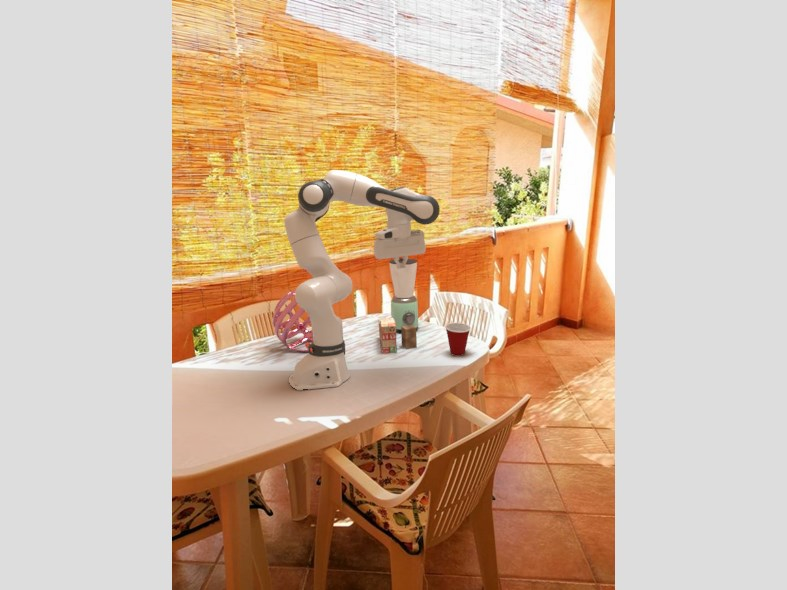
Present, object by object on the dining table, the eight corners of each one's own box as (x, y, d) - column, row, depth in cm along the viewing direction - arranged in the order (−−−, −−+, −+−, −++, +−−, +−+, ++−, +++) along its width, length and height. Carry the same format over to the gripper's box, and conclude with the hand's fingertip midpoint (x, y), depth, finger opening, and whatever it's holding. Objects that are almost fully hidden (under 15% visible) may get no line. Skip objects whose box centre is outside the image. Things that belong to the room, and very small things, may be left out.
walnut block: (406, 349, 212) (405, 329, 210) (401, 345, 216) (401, 326, 214) (416, 347, 213) (416, 327, 211) (412, 344, 218) (411, 324, 216)
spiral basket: (356, 304, 211) (312, 266, 219) (309, 336, 192) (263, 293, 200) (342, 343, 230) (302, 307, 238) (298, 375, 212) (256, 334, 219)
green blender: (424, 332, 233) (423, 260, 225) (398, 336, 229) (395, 262, 221) (409, 322, 251) (408, 254, 243) (385, 325, 247) (382, 257, 238)
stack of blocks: (379, 338, 228) (378, 312, 225) (392, 337, 228) (391, 312, 226) (382, 354, 207) (381, 326, 204) (397, 353, 208) (396, 325, 205)
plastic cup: (458, 360, 197) (458, 331, 194) (439, 353, 205) (439, 326, 202) (476, 353, 204) (476, 326, 201) (457, 347, 212) (457, 320, 209)
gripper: (420, 228, 189) (421, 263, 193) (371, 233, 181) (373, 270, 185) (427, 229, 184) (429, 265, 187) (377, 235, 176) (380, 272, 179)
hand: (401, 268), depth 186 cm, fingers closed
